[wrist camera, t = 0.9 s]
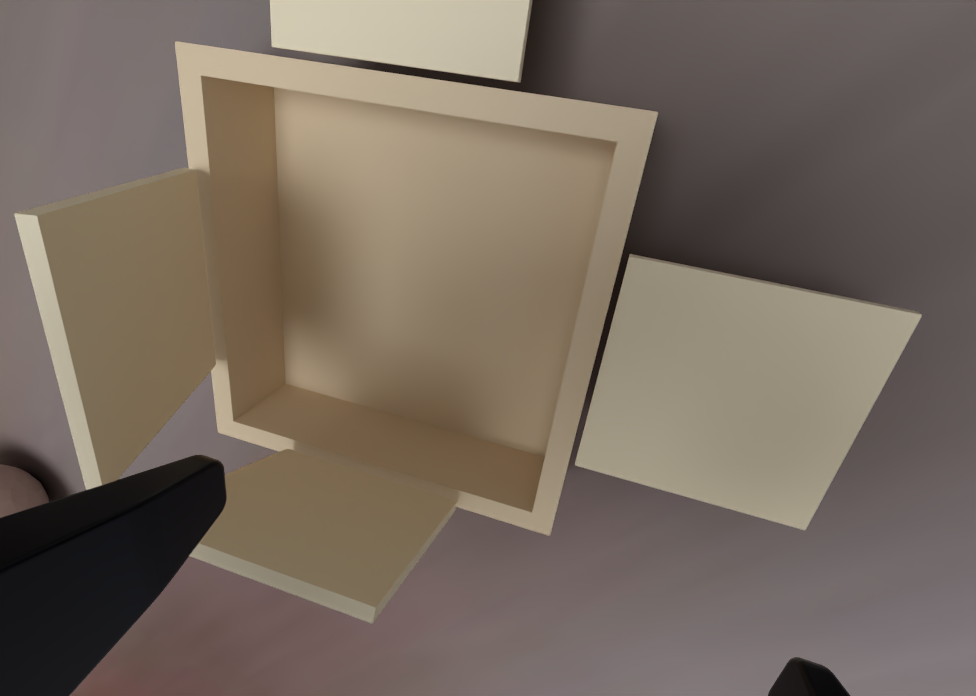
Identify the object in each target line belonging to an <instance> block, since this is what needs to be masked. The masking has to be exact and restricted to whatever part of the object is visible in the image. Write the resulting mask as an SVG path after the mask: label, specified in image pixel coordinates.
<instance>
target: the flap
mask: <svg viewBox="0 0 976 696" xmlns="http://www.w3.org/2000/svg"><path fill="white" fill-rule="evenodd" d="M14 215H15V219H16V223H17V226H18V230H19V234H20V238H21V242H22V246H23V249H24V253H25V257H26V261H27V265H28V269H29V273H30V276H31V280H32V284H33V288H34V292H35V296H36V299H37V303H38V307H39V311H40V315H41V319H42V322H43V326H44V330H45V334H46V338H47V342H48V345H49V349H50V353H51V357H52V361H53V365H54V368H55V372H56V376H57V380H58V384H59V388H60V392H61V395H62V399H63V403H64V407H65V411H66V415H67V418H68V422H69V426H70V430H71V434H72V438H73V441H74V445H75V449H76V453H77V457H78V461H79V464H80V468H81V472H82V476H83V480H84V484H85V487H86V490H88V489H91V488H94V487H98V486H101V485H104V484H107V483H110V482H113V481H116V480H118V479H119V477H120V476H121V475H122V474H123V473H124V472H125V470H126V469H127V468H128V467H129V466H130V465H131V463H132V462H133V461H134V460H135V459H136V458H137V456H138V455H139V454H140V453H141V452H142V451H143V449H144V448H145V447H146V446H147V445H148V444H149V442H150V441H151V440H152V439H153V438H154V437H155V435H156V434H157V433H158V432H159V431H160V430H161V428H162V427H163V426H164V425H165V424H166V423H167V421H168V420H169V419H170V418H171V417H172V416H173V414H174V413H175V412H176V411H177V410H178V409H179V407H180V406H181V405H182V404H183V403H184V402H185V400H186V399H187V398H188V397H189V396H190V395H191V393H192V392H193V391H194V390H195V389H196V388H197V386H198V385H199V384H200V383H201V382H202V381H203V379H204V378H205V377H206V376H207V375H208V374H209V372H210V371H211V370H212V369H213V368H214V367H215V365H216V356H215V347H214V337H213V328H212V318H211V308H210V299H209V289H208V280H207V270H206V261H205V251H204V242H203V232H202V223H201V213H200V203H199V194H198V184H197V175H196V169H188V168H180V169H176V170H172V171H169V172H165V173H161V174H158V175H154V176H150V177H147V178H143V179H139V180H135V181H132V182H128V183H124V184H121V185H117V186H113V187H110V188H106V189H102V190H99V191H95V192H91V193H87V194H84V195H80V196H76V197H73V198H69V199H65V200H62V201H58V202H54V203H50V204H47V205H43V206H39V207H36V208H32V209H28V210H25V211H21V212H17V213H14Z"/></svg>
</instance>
